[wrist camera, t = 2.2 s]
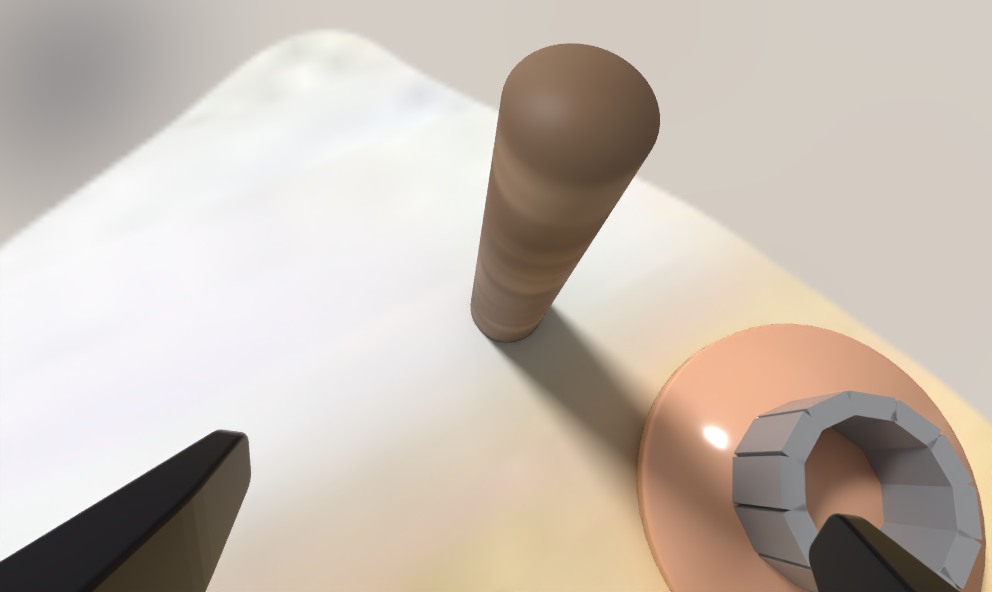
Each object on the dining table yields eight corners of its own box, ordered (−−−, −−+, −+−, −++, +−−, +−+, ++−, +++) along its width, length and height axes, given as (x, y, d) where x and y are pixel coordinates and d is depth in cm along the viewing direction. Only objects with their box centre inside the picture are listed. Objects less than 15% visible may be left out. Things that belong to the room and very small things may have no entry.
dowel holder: (1021, 590, 21) (1159, 620, 17) (739, 756, 18) (821, 837, 14) (842, 290, 24) (922, 254, 20) (582, 395, 21) (613, 379, 17)
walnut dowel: (553, 327, 22) (688, 153, 10) (486, 352, 22) (538, 201, 9) (525, 263, 23) (618, 28, 11) (460, 286, 22) (476, 65, 10)
